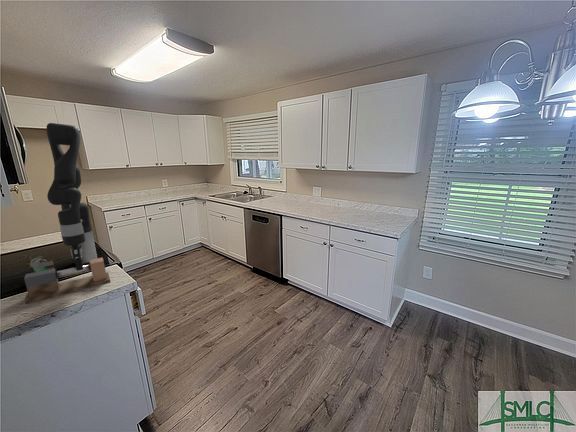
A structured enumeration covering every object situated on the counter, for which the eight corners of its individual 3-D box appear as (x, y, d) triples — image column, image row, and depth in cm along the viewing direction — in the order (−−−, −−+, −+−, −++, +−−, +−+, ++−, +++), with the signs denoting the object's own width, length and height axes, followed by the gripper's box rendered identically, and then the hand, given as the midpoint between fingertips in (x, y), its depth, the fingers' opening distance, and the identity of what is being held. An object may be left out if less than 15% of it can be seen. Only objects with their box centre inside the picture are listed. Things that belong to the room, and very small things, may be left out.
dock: (25, 303, 98) (22, 291, 97) (29, 293, 106) (25, 281, 104) (110, 281, 116) (108, 270, 114) (108, 274, 123) (106, 263, 122)
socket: (93, 281, 113) (90, 263, 111) (93, 277, 117) (89, 260, 115) (106, 278, 117) (103, 261, 114) (105, 274, 121) (102, 257, 118)
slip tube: (48, 281, 104) (46, 274, 103) (49, 278, 106) (47, 272, 105) (98, 269, 115) (97, 263, 114) (97, 267, 117) (96, 261, 116)
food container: (29, 279, 118) (24, 259, 115) (46, 273, 123) (41, 255, 121) (40, 285, 112) (35, 265, 110) (57, 279, 118) (53, 260, 115)
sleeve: (26, 287, 99) (24, 278, 98) (28, 283, 103) (25, 274, 102) (56, 280, 105) (54, 271, 104) (57, 276, 109) (55, 268, 108)
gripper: (84, 235, 104) (91, 269, 108) (83, 227, 115) (89, 259, 119) (60, 239, 100) (68, 274, 104) (62, 230, 110) (69, 263, 114)
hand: (79, 266), depth 111 cm, fingers open, 8 cm apart
